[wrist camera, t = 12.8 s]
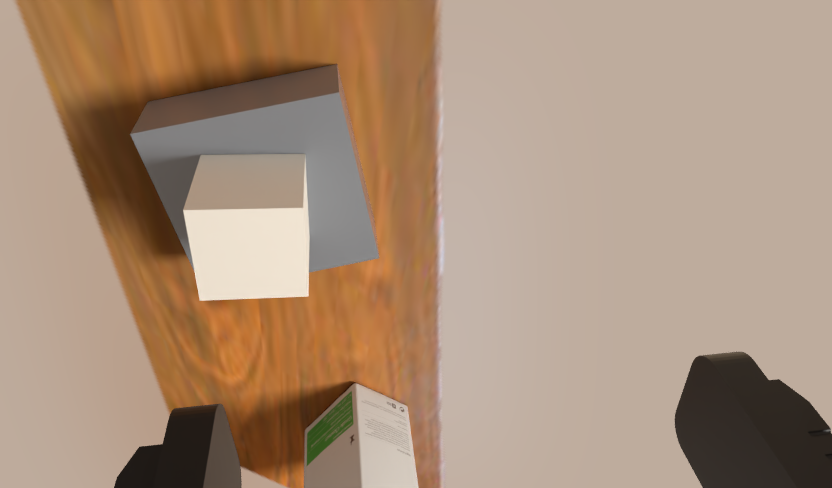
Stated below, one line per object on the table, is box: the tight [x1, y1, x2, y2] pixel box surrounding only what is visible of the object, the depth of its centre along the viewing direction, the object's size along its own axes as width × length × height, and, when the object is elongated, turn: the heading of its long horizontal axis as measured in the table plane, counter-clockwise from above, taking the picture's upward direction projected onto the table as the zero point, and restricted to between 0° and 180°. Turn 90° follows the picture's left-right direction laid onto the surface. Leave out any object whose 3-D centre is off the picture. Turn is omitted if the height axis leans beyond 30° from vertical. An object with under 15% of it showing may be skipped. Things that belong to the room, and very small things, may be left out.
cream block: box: [183, 154, 310, 301], centre depth 37 cm, size 6×6×6 cm
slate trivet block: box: [130, 64, 379, 272], centre depth 42 cm, size 12×12×5 cm
